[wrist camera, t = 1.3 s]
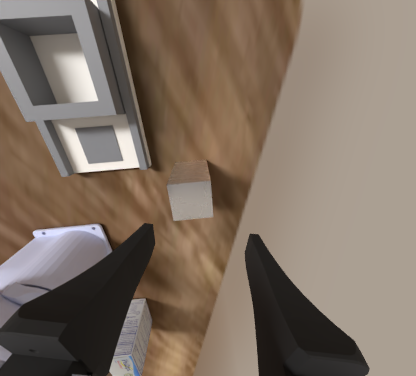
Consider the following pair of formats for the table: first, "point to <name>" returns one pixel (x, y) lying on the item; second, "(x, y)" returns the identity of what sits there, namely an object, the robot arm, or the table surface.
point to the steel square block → (190, 190)
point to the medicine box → (133, 341)
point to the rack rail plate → (74, 82)
